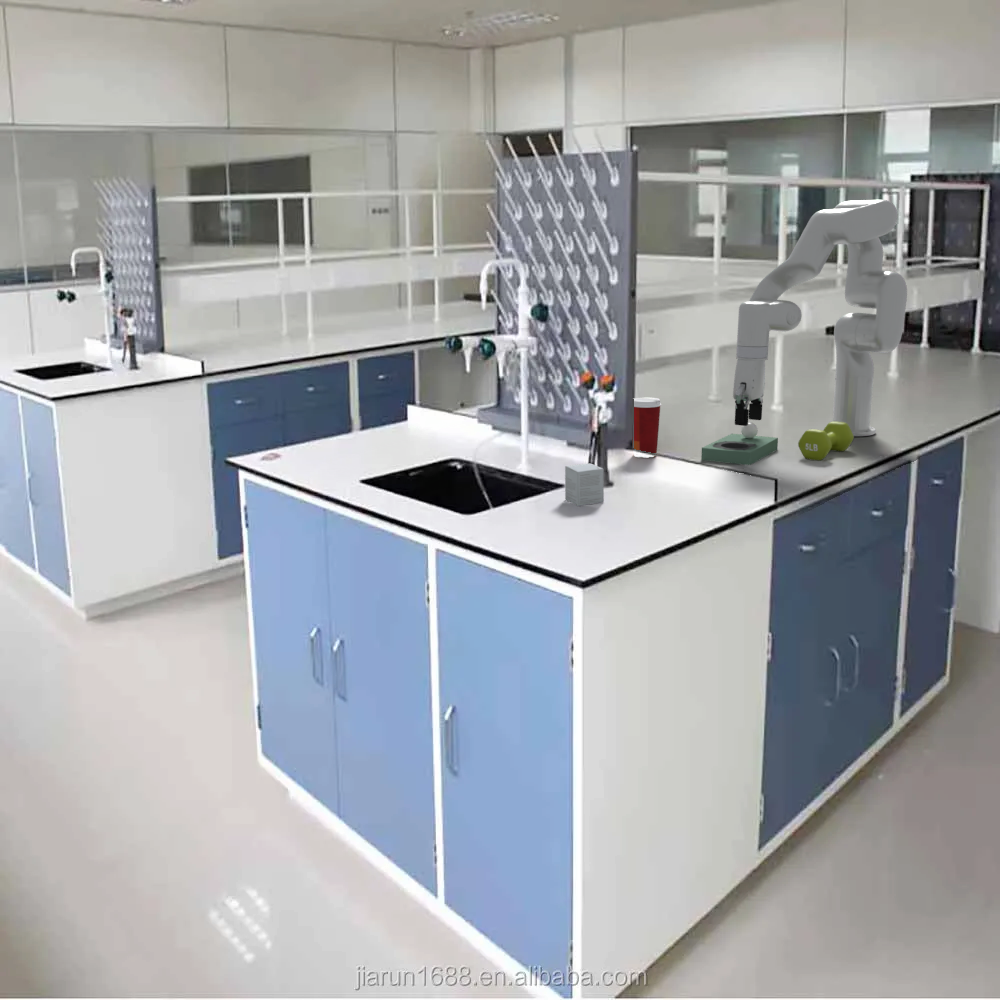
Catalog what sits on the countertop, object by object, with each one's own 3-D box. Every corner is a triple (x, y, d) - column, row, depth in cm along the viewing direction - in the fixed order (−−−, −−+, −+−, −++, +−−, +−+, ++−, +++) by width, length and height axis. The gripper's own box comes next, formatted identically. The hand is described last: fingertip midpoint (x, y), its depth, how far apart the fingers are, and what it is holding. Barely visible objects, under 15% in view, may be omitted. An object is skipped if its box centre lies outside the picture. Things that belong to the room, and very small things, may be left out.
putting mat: (731, 445, 271) (731, 433, 271) (777, 449, 265) (778, 437, 264) (701, 460, 255) (701, 447, 254) (749, 465, 249) (750, 452, 248)
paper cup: (665, 454, 262) (667, 398, 258) (652, 460, 256) (653, 402, 252) (637, 451, 266) (638, 396, 262) (623, 457, 260) (623, 400, 256)
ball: (744, 436, 267) (744, 420, 266) (759, 437, 265) (760, 421, 264) (738, 439, 264) (739, 423, 263) (754, 440, 261) (754, 424, 260)
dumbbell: (824, 447, 267) (826, 419, 265) (855, 451, 262) (857, 422, 260) (794, 458, 255) (796, 429, 254) (825, 463, 250) (827, 433, 248)
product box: (590, 496, 223) (591, 462, 221) (604, 503, 218) (604, 468, 216) (564, 499, 221) (564, 465, 219) (577, 506, 216) (577, 471, 214)
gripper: (749, 349, 268) (745, 416, 272) (724, 355, 254) (720, 426, 258) (778, 350, 264) (774, 418, 268) (754, 357, 250) (750, 429, 254)
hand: (748, 422), depth 263 cm, fingers open, 9 cm apart
